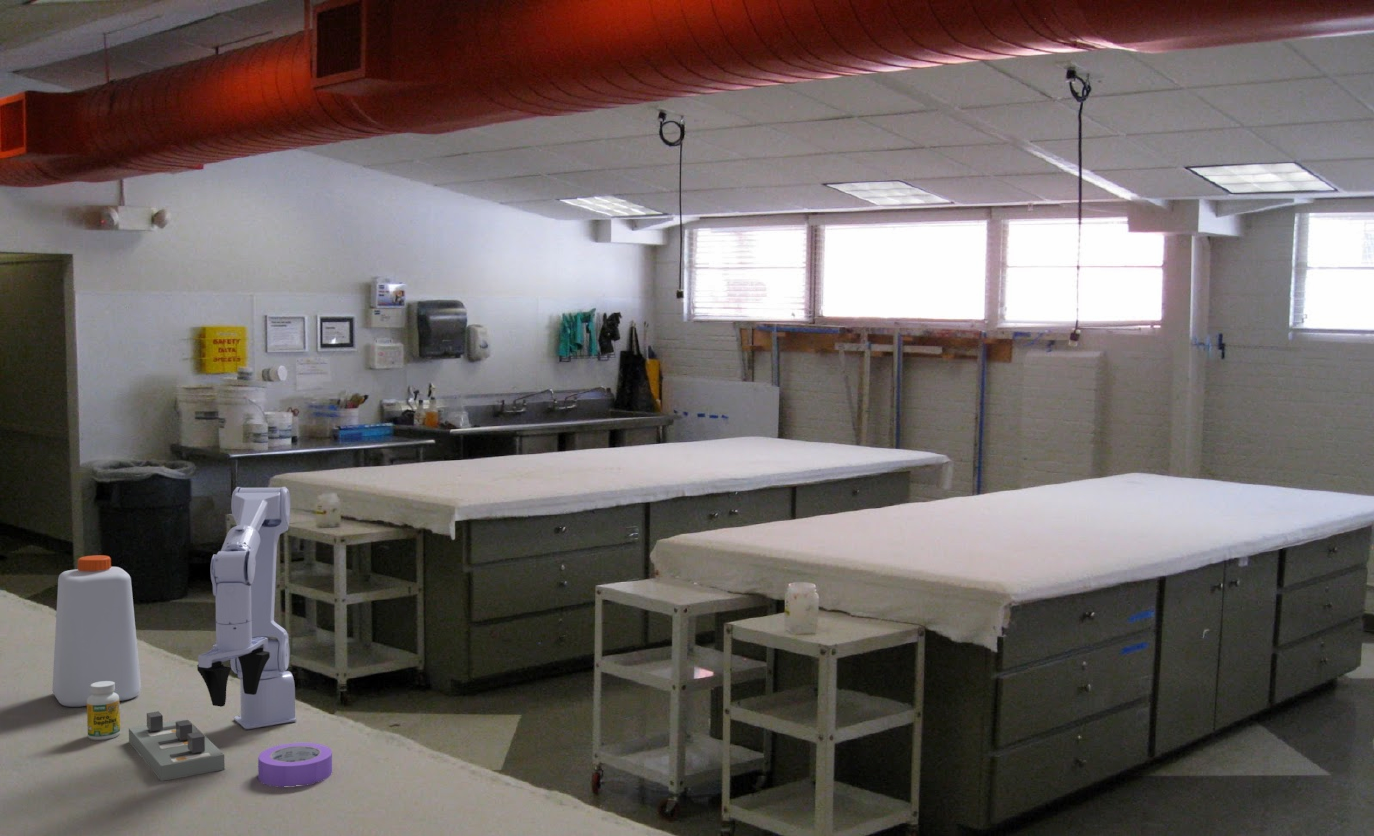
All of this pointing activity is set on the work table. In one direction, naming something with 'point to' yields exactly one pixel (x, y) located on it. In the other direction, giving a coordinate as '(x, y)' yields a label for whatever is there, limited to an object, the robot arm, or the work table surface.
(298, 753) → the masking tape
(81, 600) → the plastic bottle
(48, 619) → the work table surface
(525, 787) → the work table surface
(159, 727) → the slider back
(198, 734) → the block
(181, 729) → the slider middle
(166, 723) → the switch panel
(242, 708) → the robot arm
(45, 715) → the work table surface
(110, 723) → the supplement bottle
